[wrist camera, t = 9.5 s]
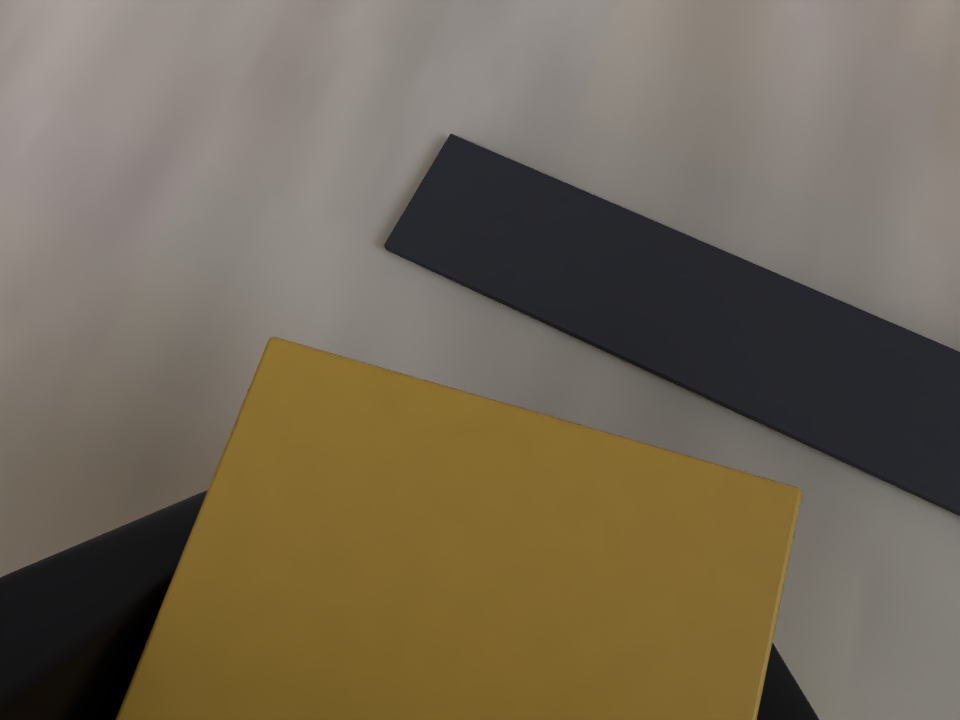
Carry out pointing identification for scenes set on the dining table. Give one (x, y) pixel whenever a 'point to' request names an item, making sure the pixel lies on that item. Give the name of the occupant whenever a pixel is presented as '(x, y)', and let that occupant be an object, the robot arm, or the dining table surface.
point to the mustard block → (459, 565)
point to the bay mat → (693, 316)
